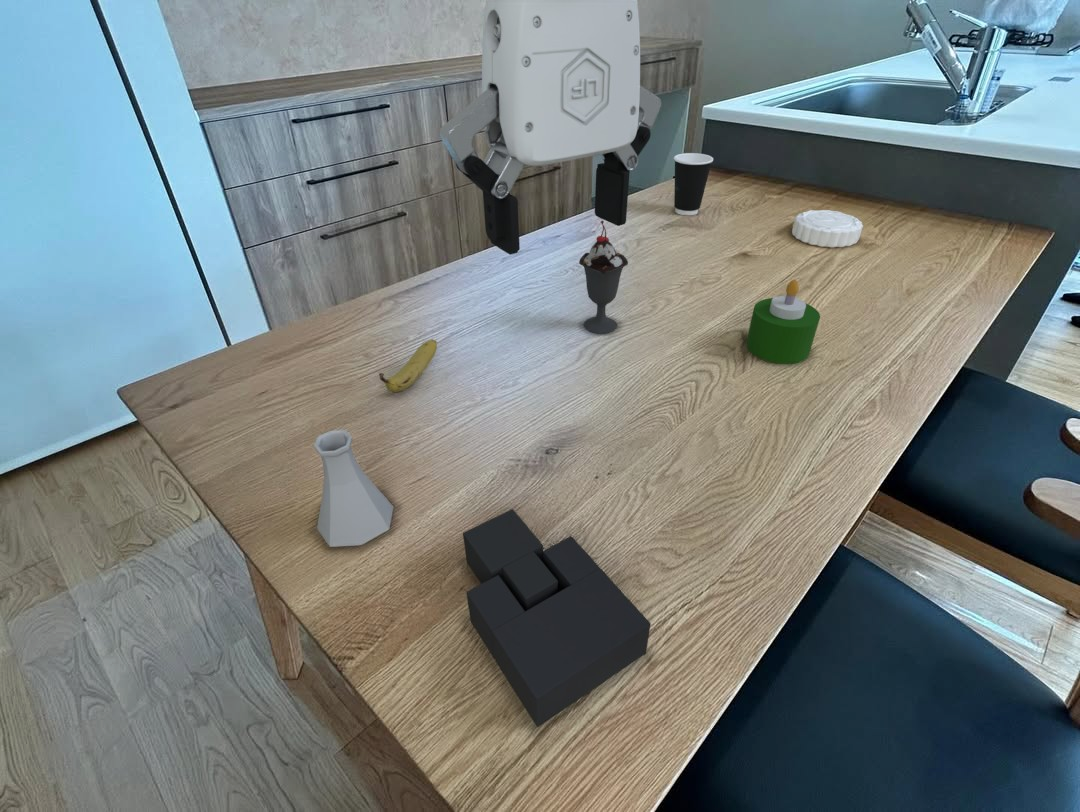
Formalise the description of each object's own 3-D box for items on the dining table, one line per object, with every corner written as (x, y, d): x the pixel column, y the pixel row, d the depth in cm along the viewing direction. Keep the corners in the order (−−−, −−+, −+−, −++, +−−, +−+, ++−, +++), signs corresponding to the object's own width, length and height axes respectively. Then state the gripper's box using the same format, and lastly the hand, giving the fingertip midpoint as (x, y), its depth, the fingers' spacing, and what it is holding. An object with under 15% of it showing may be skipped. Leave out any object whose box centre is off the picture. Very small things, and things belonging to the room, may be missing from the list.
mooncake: (848, 226, 117) (854, 208, 115) (866, 249, 108) (872, 230, 105) (786, 224, 119) (790, 206, 117) (798, 246, 109) (803, 228, 107)
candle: (792, 371, 76) (812, 301, 70) (734, 348, 81) (749, 281, 75) (819, 346, 81) (840, 279, 75) (763, 326, 85) (778, 261, 79)
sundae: (600, 310, 90) (604, 213, 81) (632, 326, 86) (640, 225, 77) (568, 324, 87) (569, 224, 78) (600, 341, 83) (605, 238, 74)
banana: (431, 361, 79) (427, 335, 77) (444, 366, 78) (441, 340, 76) (377, 399, 73) (371, 372, 70) (392, 404, 72) (386, 377, 69)
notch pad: (470, 621, 48) (465, 591, 45) (570, 565, 52) (571, 535, 49) (537, 728, 41) (536, 699, 38) (646, 653, 45) (651, 623, 43)
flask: (401, 535, 55) (381, 455, 49) (321, 559, 53) (291, 479, 47) (387, 485, 60) (368, 407, 54) (314, 505, 58) (286, 426, 52)
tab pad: (466, 562, 52) (462, 532, 50) (514, 538, 54) (512, 508, 52) (516, 635, 46) (514, 605, 44) (568, 605, 49) (568, 574, 46)
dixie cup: (713, 213, 125) (721, 158, 118) (685, 220, 122) (692, 165, 115) (687, 203, 130) (694, 150, 124) (660, 210, 127) (665, 156, 121)
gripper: (455, -56, 28) (483, 279, 38) (713, -56, 35) (678, 224, 46) (395, -50, 33) (434, 244, 43) (632, -52, 40) (617, 199, 51)
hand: (559, 233), depth 44 cm, fingers open, 9 cm apart
